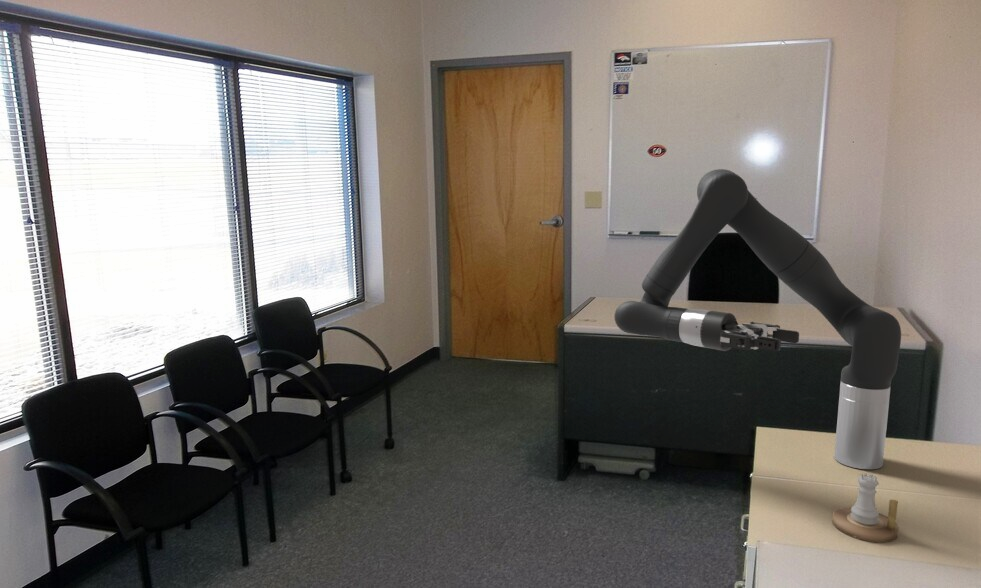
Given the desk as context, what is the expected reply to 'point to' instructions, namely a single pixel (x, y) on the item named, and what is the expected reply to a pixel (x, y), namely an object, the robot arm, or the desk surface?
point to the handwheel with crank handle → (875, 533)
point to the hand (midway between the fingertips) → (789, 341)
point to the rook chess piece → (866, 501)
